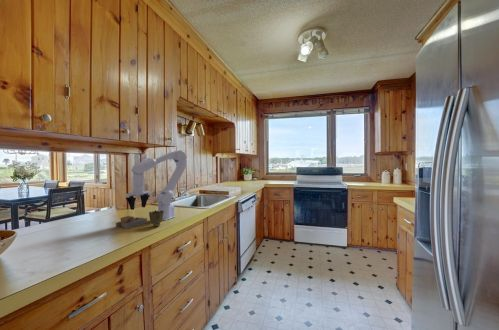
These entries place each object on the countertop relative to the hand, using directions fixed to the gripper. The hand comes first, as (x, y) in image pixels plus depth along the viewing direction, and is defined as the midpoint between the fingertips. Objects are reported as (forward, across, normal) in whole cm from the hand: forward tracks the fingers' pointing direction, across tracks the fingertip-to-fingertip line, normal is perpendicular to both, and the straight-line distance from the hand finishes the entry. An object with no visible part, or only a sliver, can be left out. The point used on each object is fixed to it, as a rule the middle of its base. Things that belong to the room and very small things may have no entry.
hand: (138, 208), depth 126 cm
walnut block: (+9, +7, 0) cm, 11 cm away
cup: (+9, +1, +15) cm, 17 cm away
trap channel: (+8, +4, 0) cm, 9 cm away
